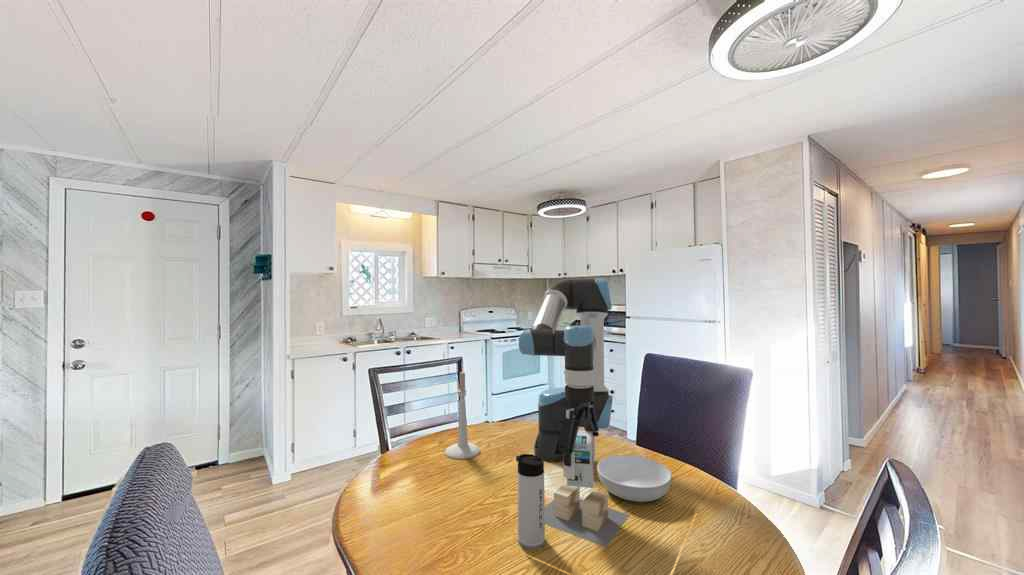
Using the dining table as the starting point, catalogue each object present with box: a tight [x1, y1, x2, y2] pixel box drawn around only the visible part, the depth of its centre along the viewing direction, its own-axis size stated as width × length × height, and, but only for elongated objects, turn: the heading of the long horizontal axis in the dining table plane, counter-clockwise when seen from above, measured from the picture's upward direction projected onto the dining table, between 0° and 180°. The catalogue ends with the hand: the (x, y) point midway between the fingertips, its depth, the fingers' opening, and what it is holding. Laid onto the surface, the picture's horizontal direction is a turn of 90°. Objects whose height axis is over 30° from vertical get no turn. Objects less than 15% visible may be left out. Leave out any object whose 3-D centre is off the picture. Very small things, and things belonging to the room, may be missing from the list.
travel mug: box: [515, 453, 546, 551], centre depth 91 cm, size 6×7×20 cm
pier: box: [582, 489, 609, 531], centre depth 99 cm, size 7×4×6 cm, turn 145°
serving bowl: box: [596, 454, 672, 503], centre depth 114 cm, size 21×21×7 cm
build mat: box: [545, 498, 630, 548], centre depth 101 cm, size 16×20×1 cm
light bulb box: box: [566, 429, 595, 489], centre depth 101 cm, size 11×7×11 cm, turn 168°
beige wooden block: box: [553, 481, 581, 521], centre depth 103 cm, size 7×4×6 cm, turn 145°
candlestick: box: [445, 371, 481, 460], centre depth 145 cm, size 13×13×30 cm
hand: (580, 468), depth 101 cm, fingers closed on light bulb box, 12 cm apart
